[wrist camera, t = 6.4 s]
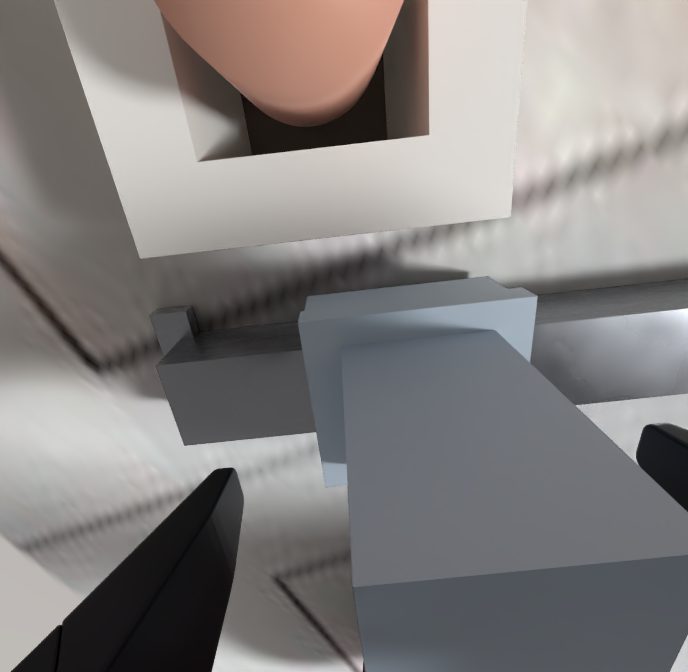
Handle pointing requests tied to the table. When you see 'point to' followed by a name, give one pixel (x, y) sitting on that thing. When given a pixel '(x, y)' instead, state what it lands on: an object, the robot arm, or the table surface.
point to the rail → (546, 356)
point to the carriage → (485, 493)
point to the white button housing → (311, 164)
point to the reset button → (289, 50)
